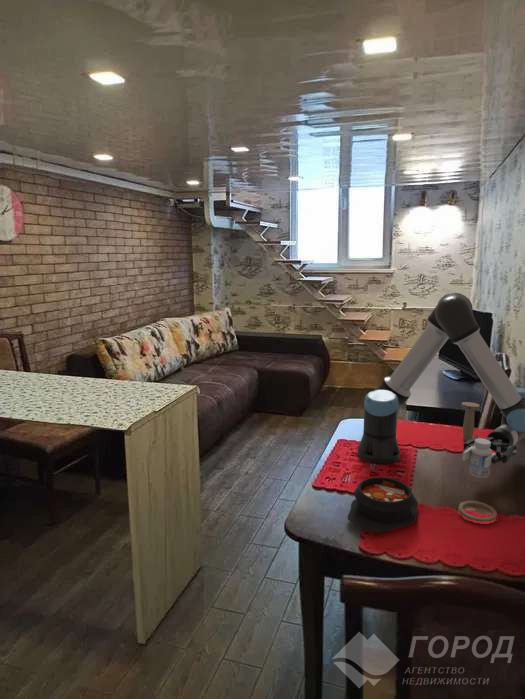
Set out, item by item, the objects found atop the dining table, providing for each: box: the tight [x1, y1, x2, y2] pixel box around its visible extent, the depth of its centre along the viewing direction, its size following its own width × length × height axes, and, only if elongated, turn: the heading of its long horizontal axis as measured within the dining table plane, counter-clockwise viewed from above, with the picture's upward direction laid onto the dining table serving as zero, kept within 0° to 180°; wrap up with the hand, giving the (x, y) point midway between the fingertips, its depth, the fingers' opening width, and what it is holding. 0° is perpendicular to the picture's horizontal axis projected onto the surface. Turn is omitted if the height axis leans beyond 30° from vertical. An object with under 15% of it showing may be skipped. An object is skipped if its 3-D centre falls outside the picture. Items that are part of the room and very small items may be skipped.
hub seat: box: [457, 500, 498, 522], centre depth 141 cm, size 10×10×2 cm
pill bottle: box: [468, 437, 493, 479], centre depth 155 cm, size 6×6×11 cm
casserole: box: [346, 476, 419, 534], centre depth 140 cm, size 25×19×8 cm
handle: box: [460, 401, 481, 442], centre depth 191 cm, size 5×6×15 cm
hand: (474, 459), depth 151 cm, fingers closed on pill bottle, 6 cm apart
